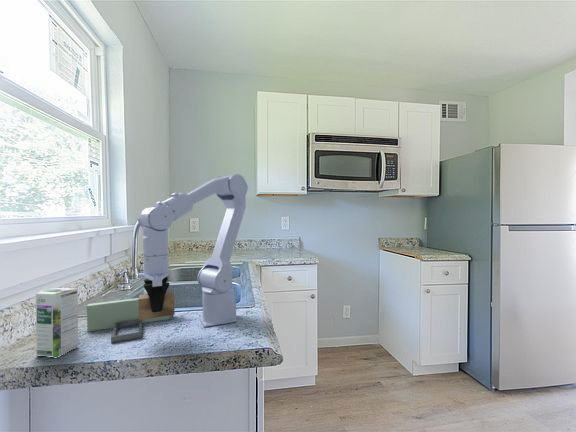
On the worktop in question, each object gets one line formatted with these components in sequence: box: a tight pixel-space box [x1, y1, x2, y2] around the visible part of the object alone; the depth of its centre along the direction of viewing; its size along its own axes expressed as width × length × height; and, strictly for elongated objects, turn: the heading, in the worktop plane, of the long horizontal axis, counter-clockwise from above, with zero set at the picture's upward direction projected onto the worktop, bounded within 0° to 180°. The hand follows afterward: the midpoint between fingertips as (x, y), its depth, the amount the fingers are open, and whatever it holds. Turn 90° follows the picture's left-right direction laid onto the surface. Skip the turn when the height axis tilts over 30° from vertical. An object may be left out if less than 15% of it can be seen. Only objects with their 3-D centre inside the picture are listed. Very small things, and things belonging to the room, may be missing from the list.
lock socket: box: [110, 319, 143, 344], centre depth 79 cm, size 7×11×2 cm, turn 26°
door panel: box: [86, 297, 175, 332], centre depth 86 cm, size 22×2×7 cm, turn 116°
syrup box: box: [35, 287, 79, 357], centre depth 68 cm, size 6×6×14 cm
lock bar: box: [138, 290, 176, 320], centre depth 74 cm, size 8×4×5 cm, turn 116°
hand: (156, 308), depth 74 cm, fingers closed on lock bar, 4 cm apart
